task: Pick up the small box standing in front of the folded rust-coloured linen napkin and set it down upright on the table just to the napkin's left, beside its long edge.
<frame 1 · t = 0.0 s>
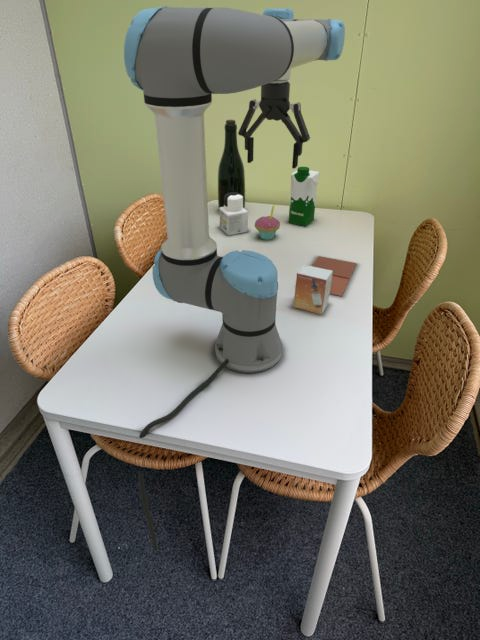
hand: (272, 164, 126), 28 cm above the table, tool pointing down, fingers open, 13 cm apart
small box: (310, 306, 117), on the table
container: (233, 230, 157), on the table
milk carton: (301, 221, 163), on the table
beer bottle: (231, 211, 172), on the table
napkin: (329, 275, 130), on the table
cupcake: (266, 237, 152), on the table
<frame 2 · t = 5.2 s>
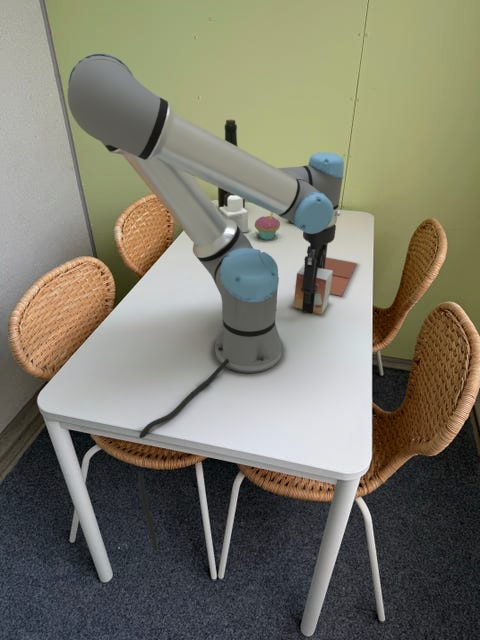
hand: (310, 305, 116), 0 cm above the table, tool pointing down, fingers closed on small box, 6 cm apart
small box: (310, 306, 117), on the table, touching gripper
everything else where it was.
when the fingers open (0 cm above the table, at t = 12.4 s): small box stays where it is, on the table.
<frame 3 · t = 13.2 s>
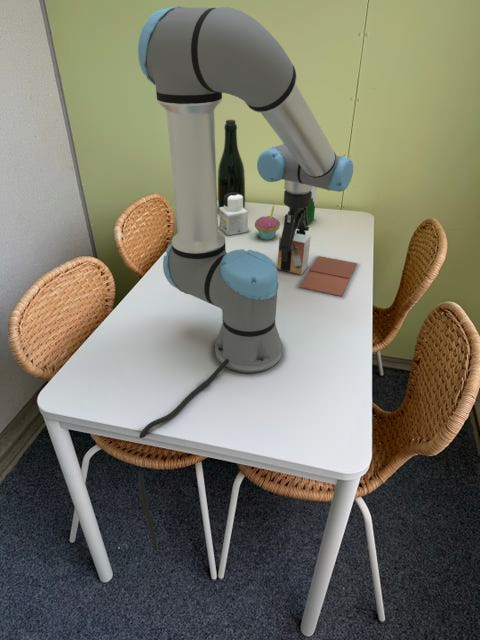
hand: (292, 260, 132), 3 cm above the table, tool pointing down, fingers open, 13 cm apart
small box: (292, 268, 134), on the table
everything else where it was.
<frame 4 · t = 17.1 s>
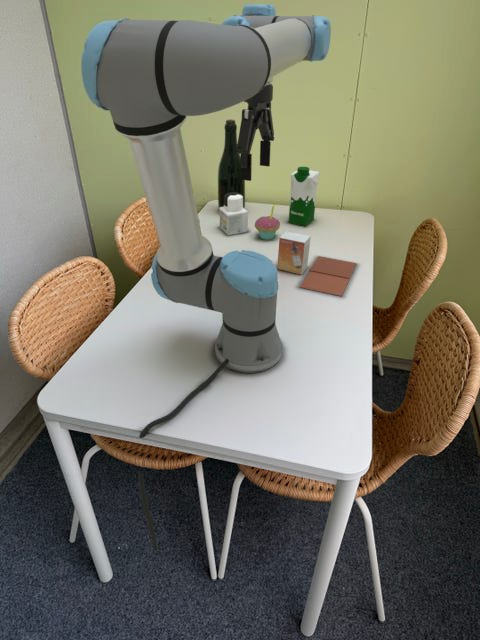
hand: (255, 172, 118), 29 cm above the table, tool pointing down, fingers open, 13 cm apart
nothing on the table moved.
at the end: small box inside the target area (2.6 cm from its centre), on the table; small box tilted 0°; small box touching table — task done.
